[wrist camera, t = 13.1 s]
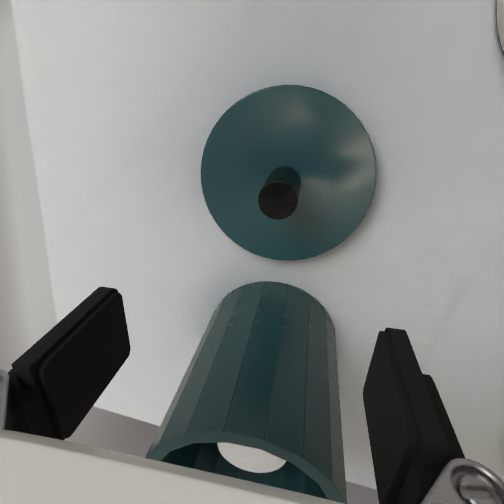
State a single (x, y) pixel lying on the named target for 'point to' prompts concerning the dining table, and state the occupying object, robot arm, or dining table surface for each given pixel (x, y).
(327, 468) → the teal faceted cylinder
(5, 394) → the robot arm
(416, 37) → the dining table surface
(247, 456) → the pill bottle
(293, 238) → the pot lid
